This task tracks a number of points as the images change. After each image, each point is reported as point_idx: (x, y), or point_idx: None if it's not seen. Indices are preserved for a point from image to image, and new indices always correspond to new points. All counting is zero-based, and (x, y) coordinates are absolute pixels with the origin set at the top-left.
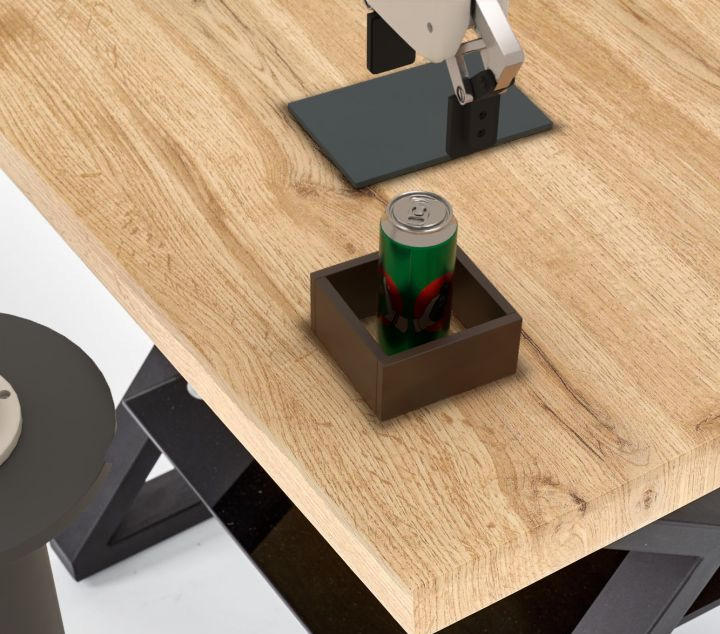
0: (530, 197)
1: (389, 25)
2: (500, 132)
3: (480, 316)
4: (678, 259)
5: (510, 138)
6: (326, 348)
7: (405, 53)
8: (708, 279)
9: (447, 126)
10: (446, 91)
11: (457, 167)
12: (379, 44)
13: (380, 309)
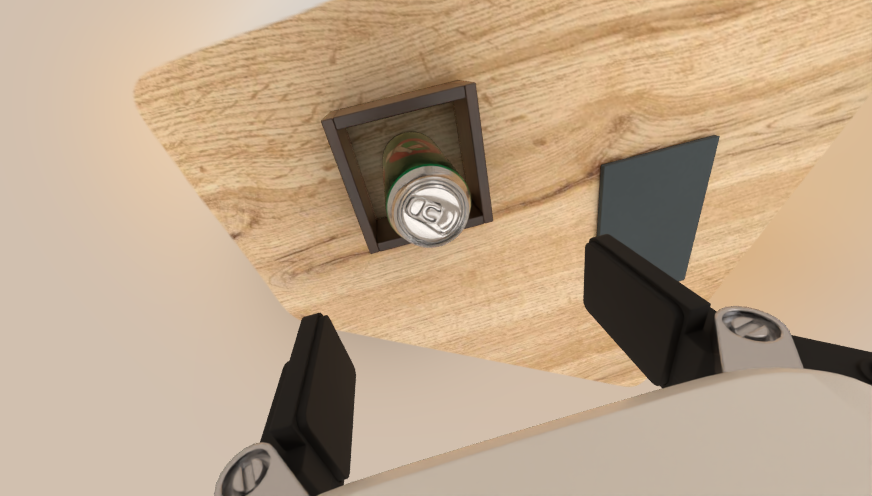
0: (538, 276)
1: (651, 326)
2: None
3: None
4: (453, 337)
5: None
6: (428, 87)
7: (597, 306)
8: (432, 347)
9: (303, 358)
10: (658, 252)
11: (587, 240)
12: (625, 283)
13: (411, 141)
